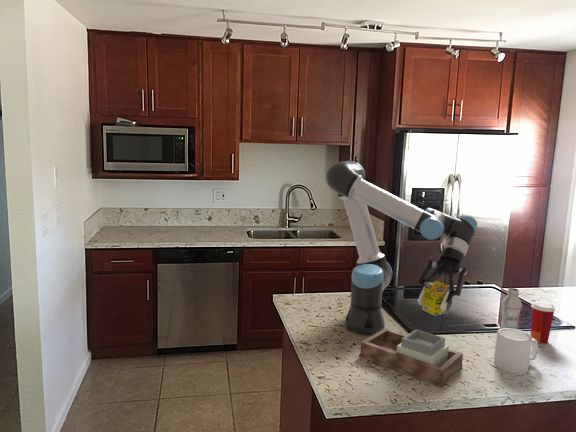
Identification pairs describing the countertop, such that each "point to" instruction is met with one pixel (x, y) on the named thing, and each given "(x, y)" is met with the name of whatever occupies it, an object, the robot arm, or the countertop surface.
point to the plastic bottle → (511, 309)
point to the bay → (408, 358)
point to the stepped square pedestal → (424, 347)
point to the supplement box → (434, 298)
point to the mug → (514, 350)
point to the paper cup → (541, 321)
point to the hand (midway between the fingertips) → (430, 306)
